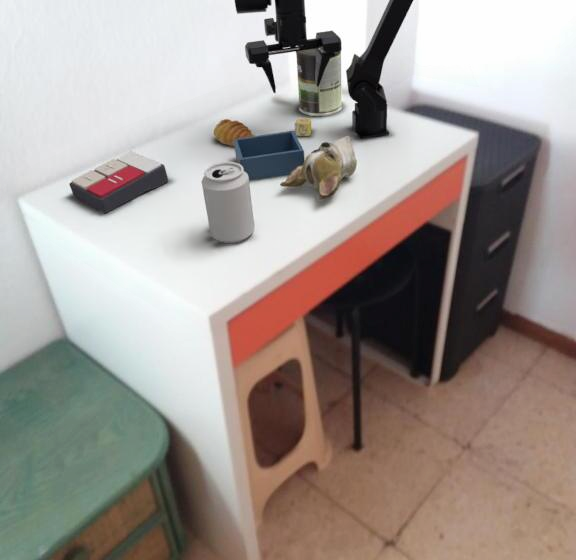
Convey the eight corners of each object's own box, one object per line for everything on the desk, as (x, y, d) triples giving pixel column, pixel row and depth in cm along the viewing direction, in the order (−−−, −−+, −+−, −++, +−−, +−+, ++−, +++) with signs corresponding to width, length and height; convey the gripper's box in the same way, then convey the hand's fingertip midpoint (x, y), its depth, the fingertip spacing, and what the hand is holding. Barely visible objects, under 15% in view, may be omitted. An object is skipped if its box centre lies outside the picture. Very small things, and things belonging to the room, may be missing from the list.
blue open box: (294, 151, 126) (293, 130, 123) (305, 172, 118) (303, 150, 115) (236, 159, 124) (233, 139, 122) (242, 181, 117) (239, 159, 114)
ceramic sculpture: (371, 133, 109) (320, 170, 101) (372, 175, 114) (324, 213, 106) (324, 121, 115) (273, 155, 107) (328, 162, 120) (279, 197, 112)
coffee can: (297, 117, 140) (293, 55, 132) (301, 100, 148) (297, 41, 140) (341, 116, 139) (340, 53, 130) (343, 99, 147) (342, 39, 139)
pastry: (262, 141, 131) (260, 124, 129) (238, 152, 127) (236, 135, 125) (234, 130, 137) (231, 114, 134) (210, 140, 133) (208, 124, 131)
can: (211, 224, 105) (200, 161, 98) (254, 219, 105) (246, 156, 98) (210, 248, 99) (198, 182, 92) (256, 243, 99) (248, 177, 92)
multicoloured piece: (66, 179, 114) (130, 147, 122) (74, 199, 117) (136, 166, 125) (99, 196, 108) (164, 161, 116) (106, 216, 111) (169, 181, 119)
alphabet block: (297, 130, 134) (297, 117, 132) (311, 130, 134) (311, 117, 132) (295, 136, 132) (294, 123, 130) (309, 136, 131) (308, 123, 129)
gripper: (326, -6, 124) (329, 71, 133) (237, 6, 122) (246, 83, 131) (341, 6, 115) (343, 87, 125) (244, 20, 113) (254, 101, 123)
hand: (295, 89), depth 126 cm, fingers open, 9 cm apart
